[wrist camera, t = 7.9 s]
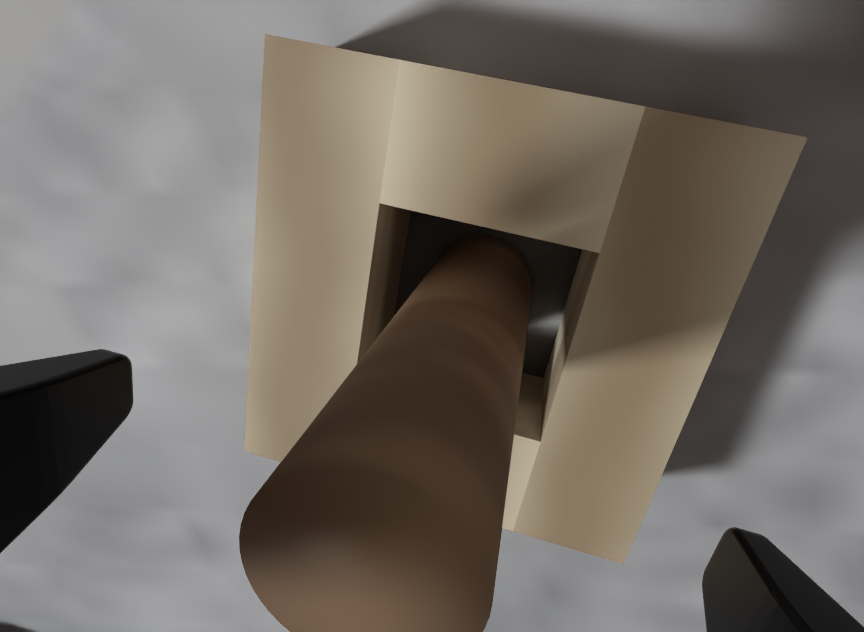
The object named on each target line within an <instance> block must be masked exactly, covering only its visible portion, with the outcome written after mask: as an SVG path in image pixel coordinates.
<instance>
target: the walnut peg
mask: <svg viewBox="0 0 864 632" xmlns="http://www.w3.org/2000/svg"><path fill="white" fill-rule="evenodd" d="M532 292H533V279H532V274H531V270H530V267H529V265H528V263H527V261H526V259H525V258H524V257H523V255H522V254H521V253H520V252H519V251H518V250H517V249H516V248H515V247H514V246H512V245H511V244H509V243H508V242H506V241H504V240H502V239H499V238H496V237H492V236H486V235H478V236H471V237H466V238H464V239H461V240H459V241H457V242H455V243H454V244H452V245H451V246H450V247H448V248H447V249H446V250H445V251H444V253H443V254H442V255H441V256H440V258H439V259H438V260H437V262H436V263H435V264H434V265H433V267H432V268H431V269H430V271H429V272H428V273H427V275H426V276H425V277H424V278H423V280H422V281H421V282H420V284H419V285H418V286H417V287H416V289H415V290H414V291H413V293H412V294H411V295H410V296H409V298H408V299H407V300H406V302H405V303H404V304H403V305H402V307H401V308H400V309H399V311H398V312H397V313H396V315H395V316H394V317H393V318H392V320H391V321H390V322H389V324H388V325H387V326H386V327H385V329H384V330H383V331H382V333H381V334H380V335H379V336H378V338H377V339H376V340H375V342H374V343H373V344H372V345H371V347H370V348H369V349H368V351H367V352H366V353H365V355H364V356H363V357H362V358H361V360H360V361H359V362H358V364H357V365H356V366H355V367H354V369H353V370H352V371H351V373H350V374H349V375H348V376H347V378H346V379H345V380H344V382H343V383H342V384H341V385H340V387H339V388H338V389H337V391H336V392H335V393H334V395H333V396H332V397H331V398H330V400H329V401H328V402H327V404H326V405H325V406H324V407H323V409H322V410H321V411H320V413H319V414H318V415H317V416H316V418H315V419H314V420H313V422H312V423H311V424H310V425H309V427H308V428H307V429H306V431H305V432H304V433H303V435H302V436H301V437H300V438H299V440H298V441H297V442H296V444H295V445H294V446H293V447H292V449H291V450H290V451H289V453H288V454H287V455H286V456H285V458H284V459H283V460H282V462H281V463H280V464H279V466H278V467H277V468H276V469H275V471H274V472H273V473H272V475H271V476H270V477H269V478H268V480H267V481H266V482H265V484H264V485H263V486H262V487H261V489H260V490H259V491H258V493H257V494H256V495H255V496H254V498H253V499H252V500H251V502H250V504H249V505H248V507H247V509H246V511H245V513H244V516H243V520H242V523H241V528H240V535H239V541H240V553H241V559H242V563H243V566H244V569H245V573H246V575H247V577H248V580H249V582H250V584H251V586H252V588H253V589H254V591H255V593H256V594H257V596H258V597H259V599H260V600H261V602H262V603H263V604H264V606H265V607H266V608H267V609H268V611H269V612H270V613H271V614H272V615H273V616H274V617H275V618H276V619H277V620H278V621H279V622H280V623H281V624H282V625H283V626H284V627H286V628H287V629H288V630H289V631H290V632H483V630H484V628H485V626H486V624H487V621H488V619H489V616H490V612H491V607H492V602H493V594H494V586H495V578H496V571H497V563H498V555H499V547H500V540H501V532H502V524H503V516H504V509H505V501H506V493H507V485H508V478H509V470H510V462H511V454H512V447H513V439H514V431H515V423H516V416H517V408H518V400H519V392H520V385H521V377H522V369H523V361H524V354H525V346H526V338H527V330H528V323H529V315H530V307H531V299H532Z"/></svg>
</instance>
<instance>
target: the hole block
mask: <svg viewBox="0 0 864 632" xmlns="http://www.w3.org/2000/svg"><path fill="white" fill-rule="evenodd" d="M807 138H808V137H804V136H798V135H793V134H788V133H783V132H777V131H772V130H767V129H762V128H756V127H751V126H746V125H740V124H735V123H730V122H725V121H719V120H714V119H709V118H704V117H698V116H693V115H688V114H683V113H677V112H672V111H667V110H662V109H656V108H651V107H646V106H641V105H635V104H630V103H625V102H619V101H614V100H609V99H604V98H598V97H593V96H588V95H583V94H577V93H572V92H567V91H562V90H556V89H551V88H546V87H541V86H535V85H530V84H525V83H520V82H514V81H509V80H504V79H498V78H493V77H488V76H483V75H477V74H472V73H467V72H462V71H456V70H451V69H446V68H441V67H435V66H430V65H425V64H420V63H414V62H409V61H404V60H399V59H393V58H388V57H383V56H377V55H372V54H367V53H362V52H356V51H351V50H346V49H341V48H335V47H330V46H325V45H320V44H314V43H309V42H304V41H299V40H293V39H288V38H283V37H278V36H272V35H267V34H265V47H264V66H263V86H262V106H261V126H260V146H259V166H258V186H257V206H256V226H255V246H254V266H253V286H252V306H251V326H250V346H249V366H248V386H247V405H246V425H245V445H244V451H246V452H249V453H253V454H256V455H259V456H263V457H266V458H269V459H273V460H276V461H279V462H282V460H283V459H284V458H285V456H286V455H287V454H288V453H289V451H290V450H291V449H292V447H293V446H294V445H295V444H296V442H297V441H298V440H299V438H300V437H301V436H302V435H303V433H304V432H305V431H306V429H307V428H308V427H309V425H310V424H311V423H312V422H313V420H314V419H315V418H316V416H317V415H318V414H319V413H320V411H321V410H322V409H323V407H324V406H325V405H326V404H327V402H328V401H329V400H330V398H331V397H332V396H333V395H334V393H335V392H336V391H337V389H338V388H339V387H340V385H341V384H342V383H343V382H344V380H345V379H346V378H347V376H348V375H349V374H350V373H351V371H352V370H353V369H354V367H355V366H356V365H357V364H358V362H359V361H360V360H361V358H362V357H363V356H364V355H365V353H366V352H367V351H368V349H369V348H370V347H371V345H372V344H373V343H374V342H375V340H376V339H377V338H378V336H379V335H380V334H381V333H382V331H383V330H384V329H385V327H386V326H387V325H388V324H389V322H390V321H391V320H392V318H393V317H394V314H395V308H396V302H397V296H398V289H399V283H400V277H401V271H402V265H403V259H404V253H405V247H406V241H407V235H408V229H409V222H410V216H411V211H416V212H420V213H425V214H429V215H433V216H438V217H442V218H447V219H451V220H455V221H460V222H464V223H469V224H473V225H477V226H482V227H486V228H491V229H495V230H500V231H504V232H508V233H513V234H517V235H522V236H526V237H530V238H535V239H539V240H544V241H548V242H552V243H557V244H561V245H566V246H570V247H575V248H579V249H582V251H581V255H580V258H579V261H578V265H577V268H576V272H575V275H574V278H573V282H572V285H571V288H570V292H569V295H568V298H567V302H566V305H565V308H564V312H563V315H562V319H561V322H560V325H559V329H558V332H557V335H556V339H555V342H554V345H553V349H552V352H551V355H550V359H549V362H548V365H547V369H546V372H545V376H544V378H541V377H537V376H533V375H529V374H525V373H522V377H521V385H520V392H519V400H518V408H517V416H516V423H515V431H514V439H513V447H512V454H511V462H510V470H509V478H508V485H507V493H506V501H505V509H504V516H503V524H502V528H504V529H507V530H511V531H514V532H517V533H521V534H524V535H527V536H531V537H534V538H538V539H541V540H544V541H548V542H551V543H554V544H558V545H561V546H564V547H568V548H571V549H574V550H578V551H581V552H584V553H588V554H591V555H595V556H598V557H601V558H605V559H608V560H611V561H615V562H618V563H621V564H624V562H625V559H626V557H627V555H628V552H629V550H630V548H631V545H632V543H633V541H634V538H635V536H636V534H637V532H638V529H639V527H640V525H641V522H642V520H643V518H644V515H645V513H646V511H647V508H648V506H649V504H650V501H651V499H652V497H653V494H654V492H655V490H656V488H657V485H658V483H659V481H660V478H661V476H662V474H663V471H664V469H665V467H666V464H667V462H668V460H669V457H670V455H671V453H672V451H673V448H674V446H675V444H676V441H677V439H678V437H679V434H680V432H681V430H682V427H683V425H684V423H685V420H686V418H687V416H688V413H689V411H690V409H691V407H692V404H693V402H694V400H695V397H696V395H697V393H698V390H699V388H700V386H701V383H702V381H703V379H704V376H705V374H706V372H707V370H708V367H709V365H710V363H711V360H712V358H713V356H714V353H715V351H716V349H717V346H718V344H719V342H720V339H721V337H722V335H723V332H724V330H725V328H726V326H727V323H728V321H729V319H730V316H731V314H732V312H733V309H734V307H735V305H736V302H737V300H738V298H739V295H740V293H741V291H742V289H743V286H744V284H745V282H746V279H747V277H748V275H749V272H750V270H751V268H752V265H753V263H754V261H755V258H756V256H757V254H758V251H759V249H760V247H761V245H762V242H763V240H764V238H765V235H766V233H767V231H768V228H769V226H770V224H771V221H772V219H773V217H774V214H775V212H776V210H777V207H778V205H779V203H780V201H781V198H782V196H783V194H784V191H785V189H786V187H787V184H788V182H789V180H790V177H791V175H792V173H793V170H794V168H795V166H796V164H797V161H798V159H799V157H800V154H801V152H802V150H803V147H804V145H805V143H806V140H807Z"/></svg>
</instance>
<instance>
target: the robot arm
mask: <svg viewBox="0 0 864 632" xmlns="http://www.w3.org/2000/svg"><path fill="white" fill-rule="evenodd" d="M132 405H133V384H132V365H131V362H130V360H129V358H128V357H127V356H125V355H122V354H119V353H115V352H112V351H108V350H103V349H100V350H93V351H87V352H81V353H75V354H69V355H63V356H57V357H51V358H45V359H39V360H33V361H27V362H21V363H15V364H9V365H3V366H0V553H1V552H2V551H3V550H4V549H5V548H6V547H7V546H8V545H9V544H10V543H11V542H12V541H13V540H14V539H15V538H17V537H18V536H19V535H20V534H21V533H22V532H23V531H24V530H25V529H26V528H27V527H28V526H29V525H30V524H31V523H32V522H33V521H34V520H35V519H36V518H37V517H38V516H39V515H40V514H41V513H42V512H43V511H44V510H45V509H46V508H47V507H48V506H49V505H50V504H51V503H52V502H53V501H54V500H55V499H56V498H57V497H58V496H59V495H60V494H61V493H62V492H63V491H64V490H65V488H66V487H67V486H68V485H69V484H70V483H71V482H72V481H73V480H74V478H75V477H76V476H77V475H78V474H79V472H80V471H81V470H82V469H83V468H84V467H85V465H86V464H87V463H88V462H89V461H90V460H91V458H92V457H93V456H94V455H95V454H96V453H97V451H98V450H99V449H100V448H101V447H102V446H103V444H104V443H105V442H106V441H107V440H108V439H109V437H110V436H111V435H112V434H113V433H114V432H115V430H116V429H117V428H118V427H119V426H120V425H121V423H122V422H123V421H124V420H125V419H126V417H127V416H128V414H129V413H130V411H131V408H132ZM702 589H703V599H704V609H705V618H706V628H707V632H864V627H863V626H862V625H861V624H860V623H859V622H858V621H857V620H855V619H854V618H853V617H852V616H851V615H850V614H849V613H848V612H847V611H846V610H845V609H843V608H842V607H841V606H840V605H839V604H838V603H837V602H836V601H835V600H834V599H833V598H831V597H830V596H829V595H828V594H827V593H826V592H825V591H824V590H823V589H822V588H821V587H819V586H818V585H817V584H816V583H815V582H814V581H813V580H812V579H811V578H810V577H809V576H807V575H806V574H805V573H804V572H803V571H802V570H801V569H800V568H799V567H798V566H797V565H795V564H794V563H793V562H792V561H791V560H790V559H789V558H788V557H787V556H786V555H785V554H783V553H782V552H781V551H780V550H779V549H778V548H777V547H776V546H775V545H774V544H772V543H771V542H770V541H769V540H768V539H767V538H766V537H764V536H762V535H760V534H757V533H753V532H750V531H746V530H743V529H739V528H735V527H733V528H730V529H728V530H727V531H726V532H725V533H724V534H723V536H722V538H721V540H720V542H719V544H718V545H717V547H716V549H715V551H714V553H713V555H712V557H711V559H710V561H709V563H708V565H707V567H706V569H705V571H704V575H703V581H702Z"/></svg>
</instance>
